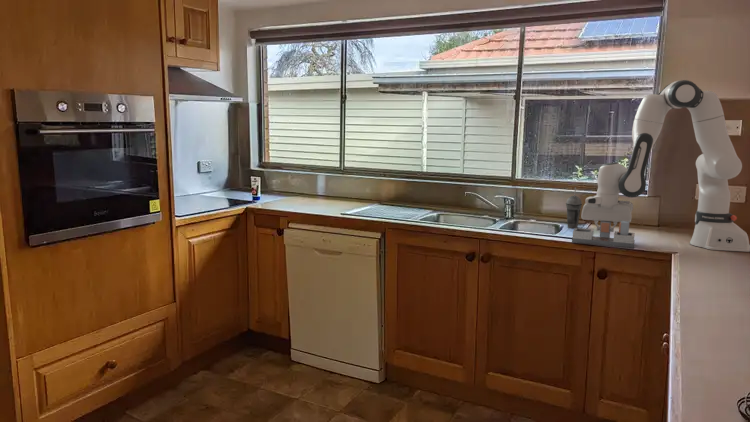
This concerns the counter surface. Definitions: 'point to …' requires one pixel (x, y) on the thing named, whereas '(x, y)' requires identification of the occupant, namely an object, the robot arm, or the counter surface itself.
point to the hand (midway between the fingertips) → (605, 231)
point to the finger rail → (603, 238)
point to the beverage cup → (573, 210)
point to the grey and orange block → (605, 229)
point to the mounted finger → (624, 227)
